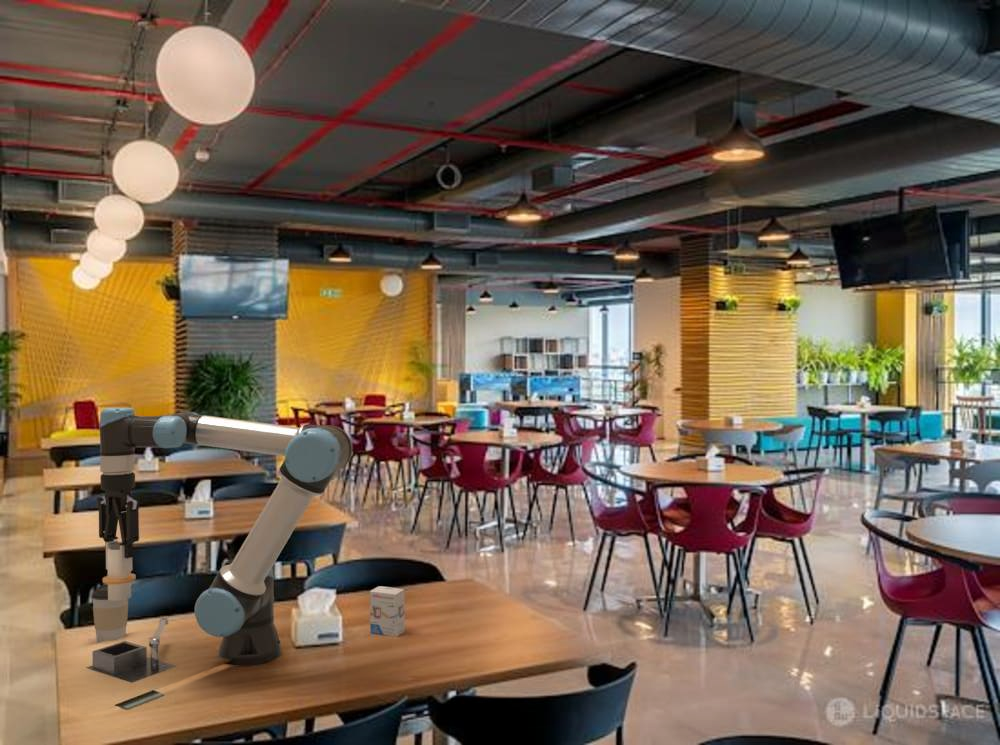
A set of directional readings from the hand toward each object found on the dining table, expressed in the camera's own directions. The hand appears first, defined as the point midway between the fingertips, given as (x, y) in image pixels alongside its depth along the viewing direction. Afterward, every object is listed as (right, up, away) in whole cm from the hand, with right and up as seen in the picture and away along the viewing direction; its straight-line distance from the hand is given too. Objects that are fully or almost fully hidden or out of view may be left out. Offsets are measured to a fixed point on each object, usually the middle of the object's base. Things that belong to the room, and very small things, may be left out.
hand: (119, 569), depth 200 cm
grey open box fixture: (+3, -25, 0) cm, 25 cm away
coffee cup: (-12, -25, +23) cm, 36 cm away
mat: (+10, -25, -15) cm, 31 cm away
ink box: (+60, -24, +29) cm, 71 cm away
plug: (0, -7, 0) cm, 7 cm away
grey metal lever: (+7, -18, +7) cm, 20 cm away
